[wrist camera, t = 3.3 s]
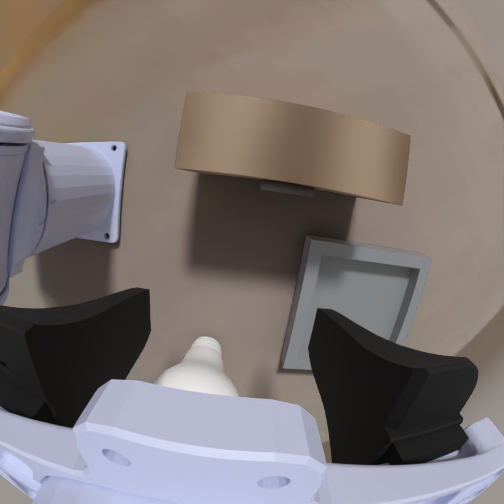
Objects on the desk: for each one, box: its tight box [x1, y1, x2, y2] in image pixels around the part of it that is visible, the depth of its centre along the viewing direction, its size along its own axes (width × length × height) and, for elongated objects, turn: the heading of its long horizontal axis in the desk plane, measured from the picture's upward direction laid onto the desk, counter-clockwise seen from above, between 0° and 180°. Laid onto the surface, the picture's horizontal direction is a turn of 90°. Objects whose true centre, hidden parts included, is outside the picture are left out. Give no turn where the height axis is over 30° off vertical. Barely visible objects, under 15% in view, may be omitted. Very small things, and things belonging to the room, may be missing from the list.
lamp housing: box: [174, 92, 410, 205], centre depth 16 cm, size 12×5×7 cm, turn 82°
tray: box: [281, 235, 431, 370], centre depth 21 cm, size 11×11×2 cm
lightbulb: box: [152, 336, 239, 397], centre depth 18 cm, size 6×6×11 cm
